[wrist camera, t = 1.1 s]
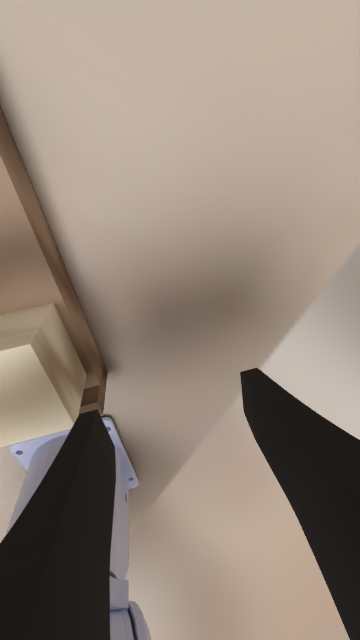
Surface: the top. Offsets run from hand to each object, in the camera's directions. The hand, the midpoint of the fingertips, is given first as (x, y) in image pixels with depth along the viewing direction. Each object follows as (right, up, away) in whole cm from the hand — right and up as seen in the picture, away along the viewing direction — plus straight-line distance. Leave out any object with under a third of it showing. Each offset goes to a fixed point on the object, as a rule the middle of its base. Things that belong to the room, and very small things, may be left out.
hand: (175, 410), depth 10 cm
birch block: (-8, +1, +6) cm, 10 cm away
